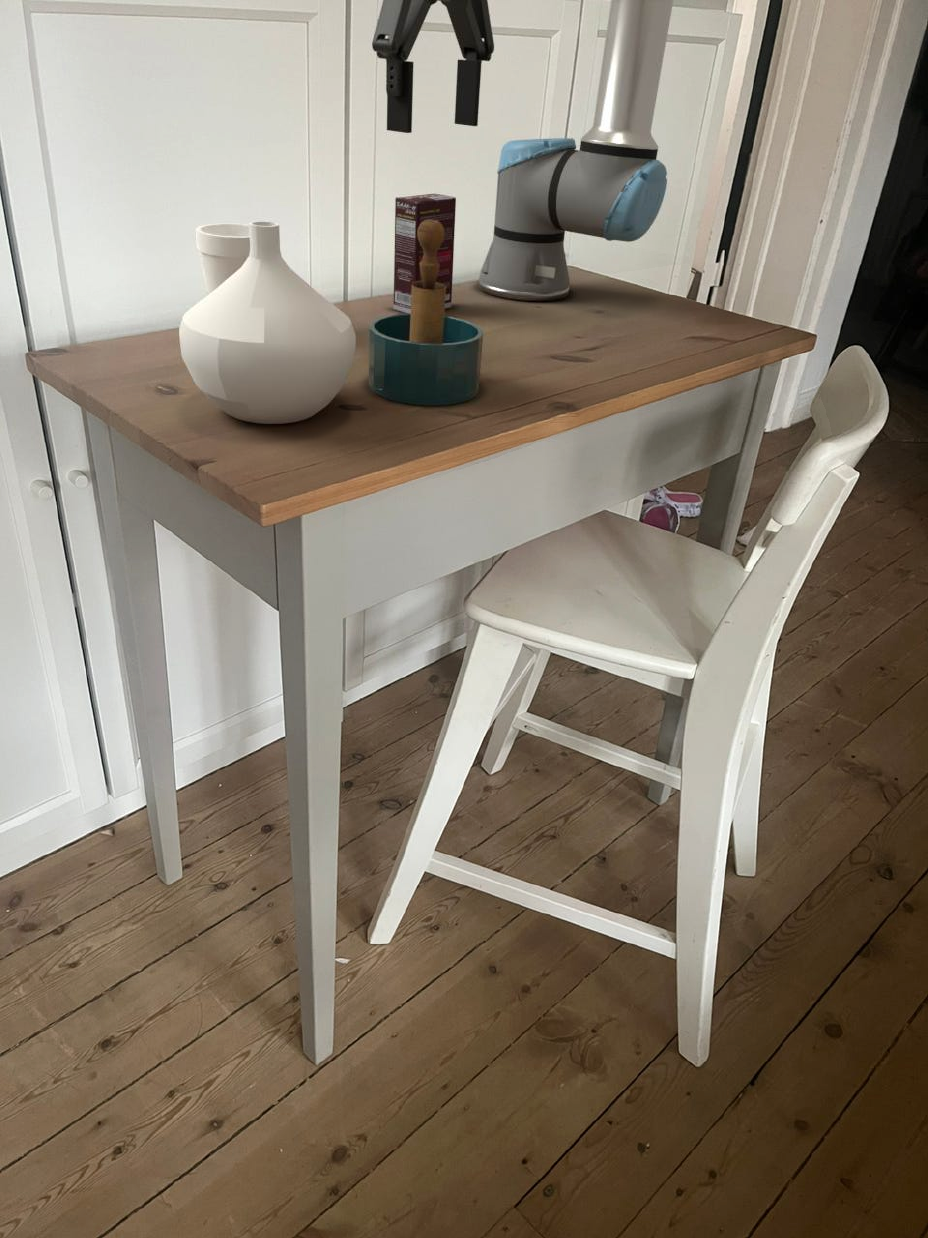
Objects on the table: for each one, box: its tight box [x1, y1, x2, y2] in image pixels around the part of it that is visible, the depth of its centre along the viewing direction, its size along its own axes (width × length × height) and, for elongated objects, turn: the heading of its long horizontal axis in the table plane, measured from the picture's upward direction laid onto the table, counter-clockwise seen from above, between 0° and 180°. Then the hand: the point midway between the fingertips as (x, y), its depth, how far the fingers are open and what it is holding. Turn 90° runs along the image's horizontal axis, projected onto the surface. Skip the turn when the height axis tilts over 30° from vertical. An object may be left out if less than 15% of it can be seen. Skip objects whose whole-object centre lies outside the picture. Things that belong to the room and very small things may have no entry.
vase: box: [178, 220, 357, 425], centre depth 99 cm, size 18×18×19 cm
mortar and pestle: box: [409, 220, 446, 344], centre depth 109 cm, size 7×6×18 cm
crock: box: [368, 313, 484, 407], centre depth 112 cm, size 13×13×7 cm
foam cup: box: [194, 222, 250, 296], centre depth 125 cm, size 10×9×13 cm
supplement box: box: [392, 193, 457, 314], centre depth 141 cm, size 9×5×16 cm, turn 139°
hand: (434, 128), depth 106 cm, fingers open, 13 cm apart
